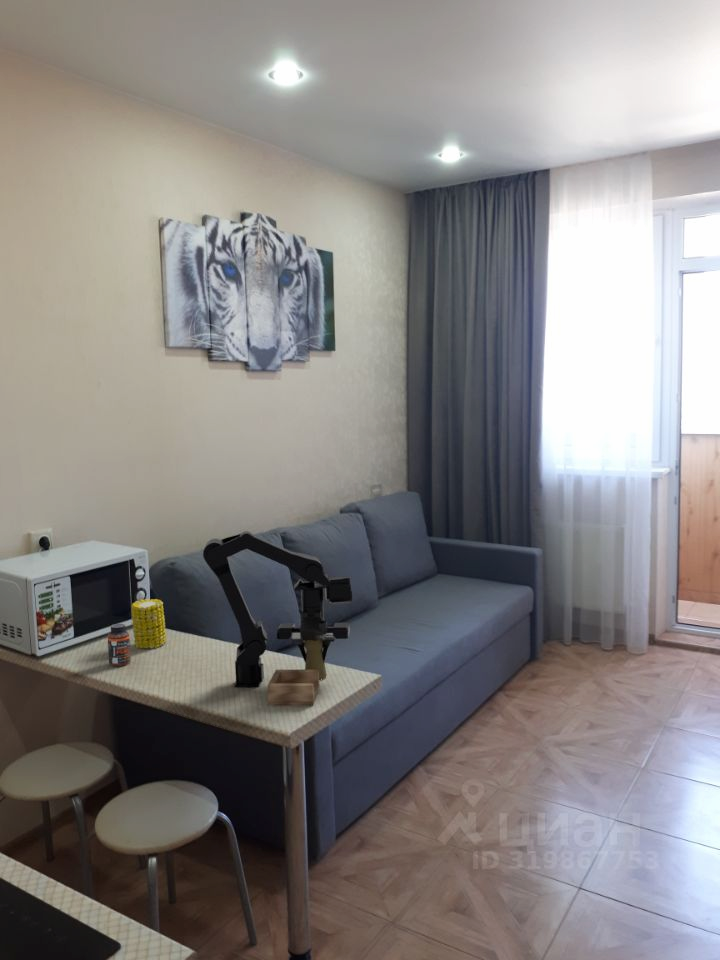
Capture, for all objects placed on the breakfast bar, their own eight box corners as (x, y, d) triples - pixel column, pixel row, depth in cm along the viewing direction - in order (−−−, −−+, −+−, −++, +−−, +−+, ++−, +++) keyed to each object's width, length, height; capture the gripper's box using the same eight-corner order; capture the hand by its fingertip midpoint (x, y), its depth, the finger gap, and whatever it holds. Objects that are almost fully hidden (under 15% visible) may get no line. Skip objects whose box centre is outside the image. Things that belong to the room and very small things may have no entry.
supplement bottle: (118, 668, 209) (115, 629, 208) (104, 665, 213) (102, 626, 212) (135, 662, 214) (132, 624, 213) (121, 659, 218) (119, 621, 217)
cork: (331, 675, 199) (329, 635, 198) (318, 682, 194) (317, 641, 193) (312, 671, 202) (310, 632, 201) (299, 679, 197) (298, 638, 196)
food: (168, 644, 235) (158, 657, 225) (132, 637, 235) (120, 649, 225) (176, 599, 232) (166, 609, 222) (139, 591, 232) (127, 601, 223)
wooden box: (267, 705, 180) (266, 686, 179) (277, 687, 192) (276, 668, 191) (313, 705, 179) (312, 686, 179) (319, 686, 191) (318, 668, 190)
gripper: (271, 613, 189) (274, 673, 190) (345, 612, 187) (347, 673, 189) (279, 602, 200) (282, 658, 201) (349, 601, 198) (351, 658, 200)
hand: (314, 662), depth 198 cm, fingers closed on cork, 4 cm apart
